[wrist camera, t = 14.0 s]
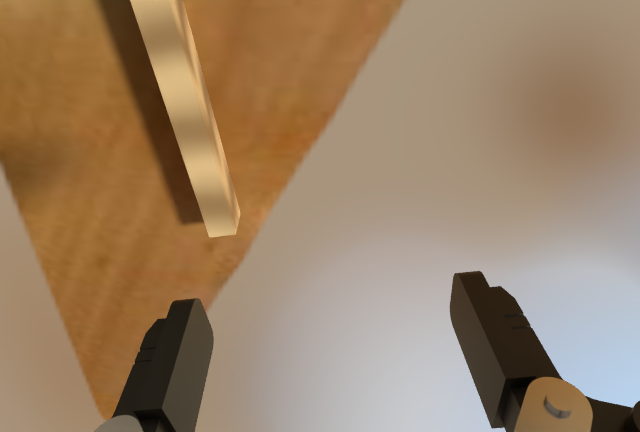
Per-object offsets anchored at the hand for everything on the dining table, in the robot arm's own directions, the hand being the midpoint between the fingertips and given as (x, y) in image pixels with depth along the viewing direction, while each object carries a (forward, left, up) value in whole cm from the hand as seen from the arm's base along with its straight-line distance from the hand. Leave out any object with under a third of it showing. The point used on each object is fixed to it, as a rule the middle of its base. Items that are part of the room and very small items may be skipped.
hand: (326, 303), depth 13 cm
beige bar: (+1, -9, -24) cm, 26 cm away
